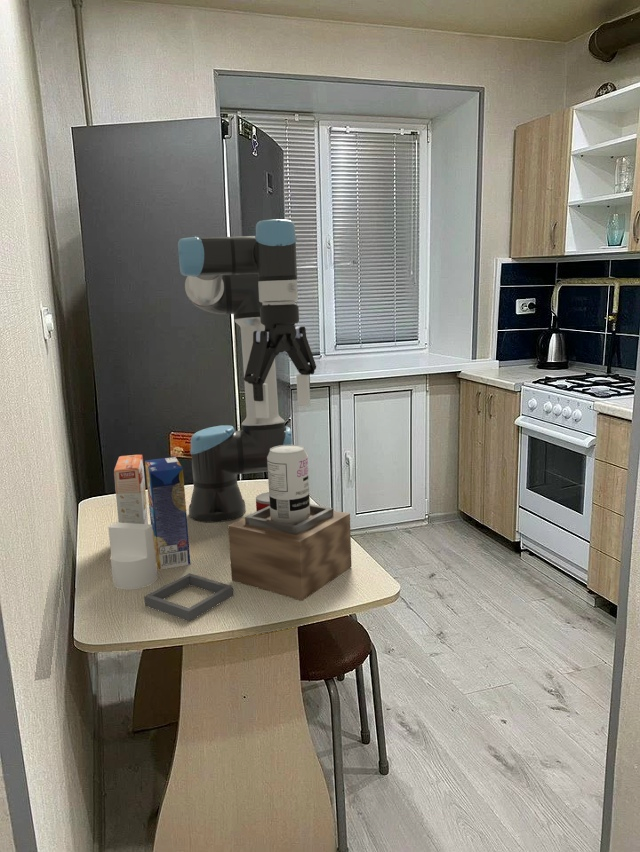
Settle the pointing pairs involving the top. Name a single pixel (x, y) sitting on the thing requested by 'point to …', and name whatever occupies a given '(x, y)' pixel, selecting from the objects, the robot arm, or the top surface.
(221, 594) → the base frame
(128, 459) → the cracker box
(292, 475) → the supplement can
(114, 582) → the cylinder with rectangular tab
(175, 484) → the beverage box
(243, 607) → the top surface
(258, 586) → the riser block
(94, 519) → the top surface
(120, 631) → the top surface
